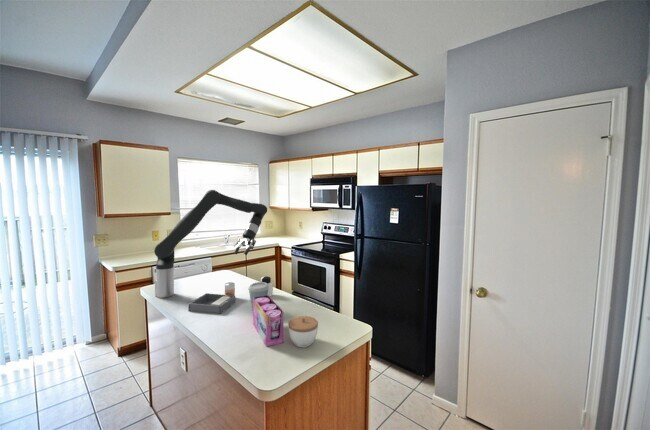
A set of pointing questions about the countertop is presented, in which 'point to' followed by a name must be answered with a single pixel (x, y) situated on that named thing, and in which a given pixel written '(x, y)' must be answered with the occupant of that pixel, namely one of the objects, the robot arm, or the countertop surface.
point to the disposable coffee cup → (258, 290)
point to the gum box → (268, 320)
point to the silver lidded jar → (230, 288)
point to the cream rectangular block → (221, 300)
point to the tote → (205, 303)
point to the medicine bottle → (268, 281)
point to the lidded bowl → (303, 330)
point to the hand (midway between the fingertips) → (240, 254)
